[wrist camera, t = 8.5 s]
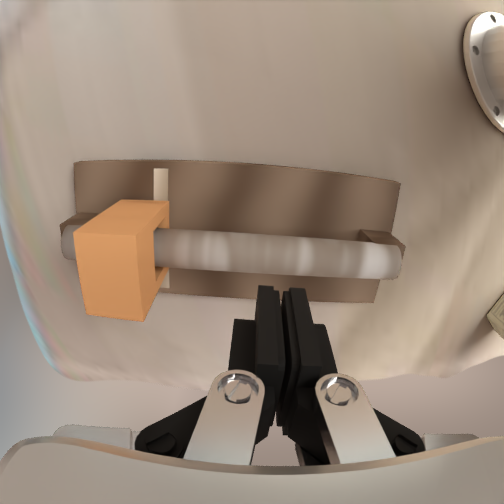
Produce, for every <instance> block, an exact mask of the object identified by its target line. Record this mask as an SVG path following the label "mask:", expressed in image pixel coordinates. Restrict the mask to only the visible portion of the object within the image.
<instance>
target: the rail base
mask: <svg viewBox="0 0 504 504" xmlns="http://www.w3.org/2000/svg"><path fill="white" fill-rule="evenodd" d="M400 184H401V183H398V182H396V181H392V180H386V179H379V178H373V177H367V176H360V175H353V174H346V173H339V172H331V171H323V170H314V169H305V168H296V167H286V166H275V165H263V164H250V163H235V162H217V161H193V160H98V161H79V162H75V163H74V185H75V202H76V215H74V216H73V217H71V218H70V219H68V220H66V221H65V222H63V223H62V224H60V230H61V248H62V253H63V255H64V257H65V258H66V259H71V260H76V253H75V245H74V237H73V232H74V231H76V230H77V229H78V228H80V227H81V226H83V225H84V224H86V223H87V222H88V221H90V220H91V219H93V218H94V217H96V216H97V215H99V214H100V213H102V212H103V211H105V210H106V209H108V208H109V207H111V206H112V205H114V204H115V203H117V202H118V201H120V200H121V199H122V200H157V201H169V229H167V228H158V227H157V228H156V229H155V230H154V231H153V236H154V260H155V267H169V270H168V272H167V274H166V276H165V278H164V280H163V282H162V284H161V286H160V288H159V290H158V292H162V293H174V294H187V295H200V296H214V297H230V298H246V299H257V292H258V285H266V286H274V290H279V294H280V300H282V295H283V291H289V288H290V287H294V288H305V290H306V295H307V299H308V301H315V302H356V303H374V300H375V296H376V292H377V289H378V285H379V281H380V279H388V280H394V279H395V278H397V277H398V275H399V272H400V269H401V263H402V259H403V255H404V251H405V247H406V246H405V245H403V244H402V243H401V242H400V241H399V240H397V239H396V238H395V237H394V236H393V235H391V232H392V227H393V222H394V217H395V212H396V207H397V201H398V196H399V190H400Z"/></svg>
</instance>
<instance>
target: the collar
mask: <svg viewBox="0 0 504 504" xmlns="http://www.w3.org/2000/svg"><path fill="white" fill-rule="evenodd" d="M157 227H158V228H167V229H169V201H157V200H122V199H121V200H120V201H118V202H117V203H115V204H114V205H112V206H111V207H109V208H108V209H106V210H105V211H103V212H102V213H100V214H99V215H97V216H96V217H94V218H93V219H91V220H90V221H88V222H87V223H86V224H84V225H83V226H81V227H80V228H78V229H77V230H76V231H74V232H73V237H74V245H75V253H76V260H77V266H78V272H79V278H80V284H81V290H82V295H83V300H84V305H85V309H86V314H88V315H95V316H102V317H109V318H117V319H124V320H132V321H141V322H144V320H145V318H146V316H147V313H148V311H149V309H150V307H151V305H152V303H153V301H154V298H155V296H156V294H157V292H158V290H159V288H160V286H161V284H162V282H163V280H164V278H165V276H166V274H167V272H168V270H169V267H155V260H154V236H153V231H154V230H155V229H156V228H157Z"/></svg>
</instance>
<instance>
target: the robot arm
mask: <svg viewBox="0 0 504 504" xmlns="http://www.w3.org/2000/svg"><path fill="white" fill-rule="evenodd" d="M463 52H464V60H465V66H466V70H467V74H468V78H469V81H470V84H471V86H472V89H473V92H474V94H475V96H476V98H477V100H478V103H479V104H480V106H481V108H482V109H483V111H484V113H485V114H486V116H487V117H488V118H489V120H490V121H491V122H492V123H493V124H494V125H495V126H496V127H497V128H498V129H499V130H500V131H501V132H503V133H504V15H502V14H500V13H497V12H490V11H487V12H483V13H480V14H477V15H476V16H474V17H473V18H472V19H471V20H470V21H469V22H468V24H467V27H466V29H465V34H464V39H463ZM275 412H276V422H277V426H282V431H283V435H288V437H289V438H290V439H292V440H293V441H294V442H296V443H295V450H296V454H297V457H298V461H299V465H300V466H251V462H252V458H253V453H254V449H255V445H256V444H257V443H259V442H260V441H261V440H263V439H264V438H266V437H267V436H268V432H269V427H270V426H272V425H273V421H274V417H275ZM0 504H504V436H498V437H486V438H478V437H476V436H475V435H472V434H424V435H423V436H422V437H420V436H419V435H418V434H416V433H415V432H414V431H412V430H410V429H408V428H407V427H405V426H403V425H401V424H400V423H398V422H396V421H394V420H393V419H391V418H389V417H388V416H386V415H384V414H382V413H381V412H379V411H377V410H376V409H374V408H372V406H371V404H370V402H369V400H368V398H367V396H366V394H365V392H364V390H363V388H362V387H361V385H360V384H359V382H358V381H356V380H355V379H354V378H352V377H350V376H348V375H344V374H338V372H337V368H336V364H335V360H334V356H333V352H332V349H331V345H330V341H329V337H328V334H327V330H326V327H325V325H324V324H313V320H312V316H311V312H310V307H309V303H308V299H307V295H306V290H305V288H294V287H290V288H289V291H283V295H282V302H281V304H280V294H279V290H274V286H266V285H258V292H257V302H256V311H255V320H244V319H234V325H233V334H232V342H231V350H230V359H229V367H228V371H226V372H223V373H221V374H220V375H218V376H217V377H216V378H215V379H214V381H213V383H212V385H211V388H210V390H209V393H208V396H206V397H204V398H202V399H200V400H199V401H197V402H195V403H193V404H191V405H189V406H187V407H185V408H183V409H182V410H180V411H178V412H176V413H174V414H172V415H170V416H168V417H166V418H164V419H162V420H160V421H158V422H156V423H154V424H152V425H150V426H148V427H146V428H145V429H143V430H142V431H141V432H136V431H133V432H132V431H131V429H130V428H110V427H94V426H82V425H65V426H62V427H60V428H58V429H57V430H56V431H55V433H54V434H53V436H46V437H34V438H29V439H25V440H22V441H20V442H18V443H16V444H15V445H14V446H12V448H10V449H9V450H8V451H7V453H6V454H5V455H4V456H3V458H2V459H1V461H0Z"/></svg>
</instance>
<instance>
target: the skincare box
mask: <svg viewBox="0 0 504 504" xmlns="http://www.w3.org/2000/svg"><path fill="white" fill-rule="evenodd" d="M487 318H488V319H489V321H490V323H491V325H492V327H493V328H494V330H495V331H496V332H497V333H498V334H499V335H500V336H501V337H502V338H503V339H504V294H503V295H502V297H501V298H500V299H499V300H498V302H497V303H496V304H495V305H494V307H493V308H492V309H491V310H490V312H489V313H488V314H487Z"/></svg>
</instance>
